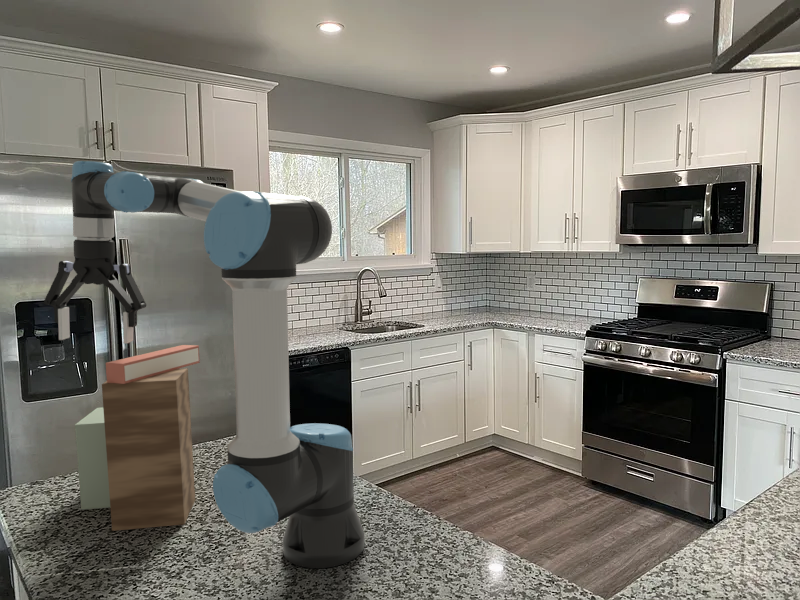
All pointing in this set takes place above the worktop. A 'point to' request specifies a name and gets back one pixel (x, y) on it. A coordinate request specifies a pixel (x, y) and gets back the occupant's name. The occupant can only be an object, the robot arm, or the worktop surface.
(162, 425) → the walnut block
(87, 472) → the sage step
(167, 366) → the salmon pink bar
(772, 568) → the worktop surface
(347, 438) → the robot arm
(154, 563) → the worktop surface
